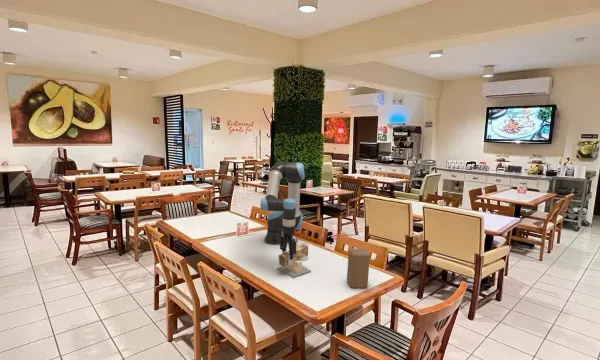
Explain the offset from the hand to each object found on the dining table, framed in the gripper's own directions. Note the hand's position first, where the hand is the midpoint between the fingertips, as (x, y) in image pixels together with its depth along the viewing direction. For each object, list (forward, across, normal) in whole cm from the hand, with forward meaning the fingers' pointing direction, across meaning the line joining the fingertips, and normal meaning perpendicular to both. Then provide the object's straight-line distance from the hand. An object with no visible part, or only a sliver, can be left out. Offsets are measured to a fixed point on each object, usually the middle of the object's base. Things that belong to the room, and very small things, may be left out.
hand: (287, 263), depth 201 cm
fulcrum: (+6, 0, +6) cm, 9 cm away
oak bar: (-1, 0, +5) cm, 5 cm away
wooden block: (+7, +36, +22) cm, 42 cm away
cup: (+6, -12, +22) cm, 26 cm away
